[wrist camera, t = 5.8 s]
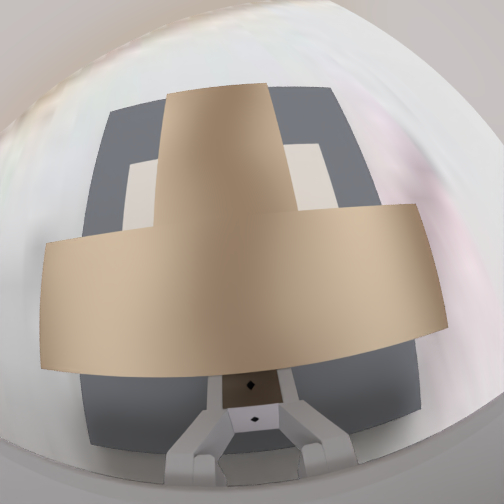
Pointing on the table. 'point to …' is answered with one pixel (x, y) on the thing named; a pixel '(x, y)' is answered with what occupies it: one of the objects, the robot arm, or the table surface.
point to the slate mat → (308, 198)
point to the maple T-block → (235, 263)
